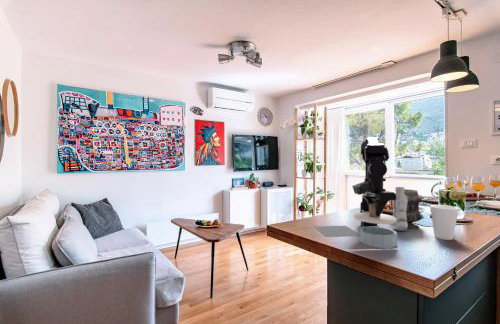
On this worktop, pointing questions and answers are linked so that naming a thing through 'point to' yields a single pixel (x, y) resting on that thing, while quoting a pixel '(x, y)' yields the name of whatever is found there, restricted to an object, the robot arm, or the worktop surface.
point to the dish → (378, 237)
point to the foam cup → (444, 221)
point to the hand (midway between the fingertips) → (374, 214)
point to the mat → (336, 231)
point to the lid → (374, 216)
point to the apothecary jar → (413, 208)
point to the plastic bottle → (400, 210)
